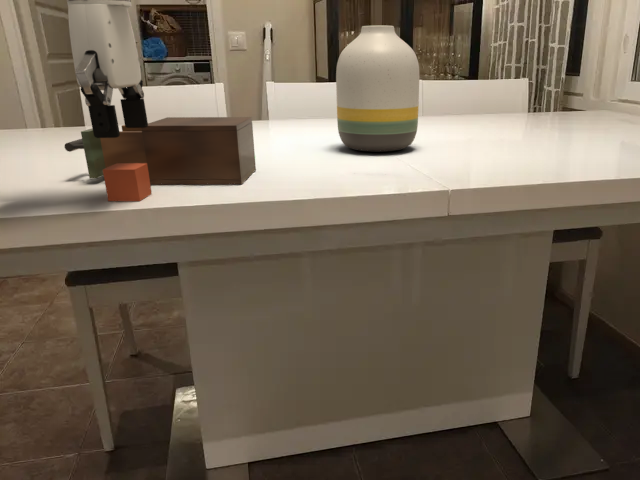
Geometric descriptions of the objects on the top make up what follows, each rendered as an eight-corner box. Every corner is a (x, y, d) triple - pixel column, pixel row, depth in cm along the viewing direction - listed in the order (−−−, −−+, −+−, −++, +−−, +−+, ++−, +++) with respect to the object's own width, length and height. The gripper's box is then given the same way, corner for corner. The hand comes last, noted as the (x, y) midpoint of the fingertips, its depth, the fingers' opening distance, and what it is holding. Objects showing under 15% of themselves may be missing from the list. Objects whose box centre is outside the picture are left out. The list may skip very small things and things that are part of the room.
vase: (326, 154, 113) (322, 25, 105) (352, 142, 129) (350, 28, 120) (407, 157, 109) (410, 23, 100) (424, 144, 124) (428, 27, 115)
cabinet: (149, 184, 88) (140, 125, 84) (173, 170, 99) (166, 117, 95) (241, 184, 88) (236, 125, 84) (255, 170, 98) (251, 117, 95)
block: (108, 201, 78) (102, 169, 77) (121, 193, 82) (116, 163, 81) (140, 201, 78) (134, 169, 76) (151, 193, 82) (147, 163, 81)
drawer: (63, 178, 88) (53, 131, 86) (93, 166, 98) (85, 123, 95) (174, 178, 88) (167, 131, 85) (193, 165, 98) (188, 123, 95)
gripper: (100, 0, 79) (122, 124, 85) (30, -12, 63) (64, 142, 69) (152, -1, 79) (170, 123, 85) (96, -14, 62) (124, 141, 69)
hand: (123, 132), depth 77 cm, fingers open, 9 cm apart
